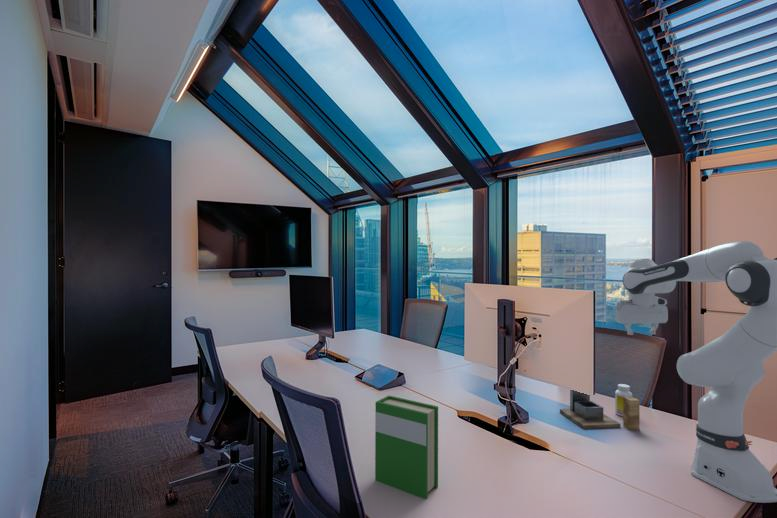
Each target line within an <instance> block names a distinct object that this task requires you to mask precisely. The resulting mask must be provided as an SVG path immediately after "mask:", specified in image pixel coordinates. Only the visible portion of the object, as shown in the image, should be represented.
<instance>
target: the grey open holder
mask: <svg viewBox="0 0 777 518" xmlns="http://www.w3.org/2000/svg"><path fill="white" fill-rule="evenodd" d="M590 397H591V394H590V395H587V394H584V393H580V392H577V391H574V390H570V389H569V407H570V408H569V409H570V410H571V411H572V412H575V414H577V415H578V416H580V417H581V418H583V419H584V420H601V419H603V414H604V407H603V406H601V405H600V404H599V403H597V402H594V401H593V400H591V399H590Z"/></svg>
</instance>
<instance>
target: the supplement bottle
mask: <svg viewBox="0 0 777 518" xmlns="http://www.w3.org/2000/svg"><path fill="white" fill-rule="evenodd" d="M630 389H631V386H630V385H628V384H625V383H624V384H623V383H619V384H617V389H616V390H615V392H614V395H615V396H614V398H615V400H614V401H615V402H614V407H615V408H614V409H615V411H614V412H615V414H616V415H618V416H620V417H623V397H633V393H632V392H631V391H630Z"/></svg>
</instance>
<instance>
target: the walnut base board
mask: <svg viewBox="0 0 777 518" xmlns="http://www.w3.org/2000/svg"><path fill="white" fill-rule="evenodd" d="M559 413H560V414H561V415H563V416H564V417H566V418H567V419H569V420H570V421H571V422H573V423H574V424H576V425H577V426H578V427H580V428H581V429H583V430H587V429H588V430H590V429H591V430H592V429H594V428H596V429H613V428H615V429H617V428H618V427H620V428H621V423H620V422H618V421H617V420H615V419H614V418H611V417H610V416H608V415H606V414H605V413H603V419H601V420H584V419H583V418H581V417H580V416H578V415H577V414H575V412H572V411H571V410H570V408H559Z"/></svg>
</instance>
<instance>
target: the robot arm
mask: <svg viewBox="0 0 777 518" xmlns="http://www.w3.org/2000/svg"><path fill="white" fill-rule="evenodd" d="M678 282H692V283H693V282H695V283H718V282H725V284H726V287H727V289H728V291H730V293H731V294H732V295H733V296H735V297H736V298H737V299H738V300H739V302H740V303H741V304H742V305H745V306H748V307H750V309H749V310H748V311H747V312H746V313H745V314H744V315H743V316H742V317H741V318H740V319H739V320H737V322H735V324H733V325H732V326H731V327H730V328H729V329H728V330H726V332H725V333H723V334H722V335H720V336H719V337H717V338H715V339H713V340H711V341H709V342H708V343H706V344H704V345H703V346H700V347H699V348H696V349H695V350H692V351H690V352H688V353H687V352H686V353H684V354H682V355H680V356H679V357H678V359H677V362H676V370H677V373H678V376H679V377H680V378H681V379H682V381H683V382H685V383H686V384H688V385H692V386H697V387H703V388H709V389H708V391H706V393H705V394H704V395H703V396H701V397H700V398H699V400H698V402H697V424H696V425H695V427H696V428H695V436H696V437H697V440H696V441H697V442H696V445H695V446H696V447H695V449H694V450H695V451H694V458H693V461H692V464H691V471H690V473H691V475H692V476H693V477H695V478H696V479H697V478H698V479H699V480H701V481H703V482H706V483H708V484H710V485H711V486H713V487H716V488H718V489H719V490H722V491H724V492H726V493H728V494H729V495H731V496H733V497H735V498H737V499H740V500H742V501H746V502H751V503H759V504H761V503H763V504H766V503H770V504H771V503H777V488H776V487H775V486H774V481H773V476H772V474H771V471H770V470H769V469H767V468H766V466H765V465H764V464H763V463H762V462H761V461H760V460H759V459H758V457H756V455H754V453H753V452H752V451H751V450H750V446H752V445H753V444H752V443H753V441H752V440H747V438H746V436H745V434H744V409H745V406H746V403H747V401H748V398H749V395H750V394H751V392H752V390H753V389H754V387H755V386H756V385H758V383H760V382H761V381H762V380H763V378H764V376H765V373H766V369H765V366H764V363H763V362H764V361H766V360H767V359H768V358H769V357H770V356H772V355H773V354H775V353H776V352H777V257H775V258H773V259H771V258H768V257H766V256H765V254H764V252H763V250H762V248H761V247H760V246H759V245H758V244H756V243H754V242H752V241H747V240H743V241H742V240H741V241H731V242H728V243H723V244H720V245H719V244H718V245H716V246H713V247H710V248H707V249H704V250H703V249H702V250H701V251H698V252H695V253H692V254H690V255H687V256H685V257H684V256H683V257H681V258H677V259H675V260H673V261H668V262H665V263H661V264H657V263H656V262H654V260H653V259H649V258H642V259H641V258H640V259H635V260H633V261H631V262H630V264H629V268H628V269H627V271H626V272H625V273H624V274H623V277H622V285H623V287H624V288H625V289H626V291H627V292H628V299H620V300H619V301H617V303H616V310H615V319H614V320H615V321H616V323H619V324H622V325H623V324H624V325H623V326H624V327H625V329H626V333H627V335H628V336H629V335H630V336H633V335H634V330H633V329H632V328H631V327H632V324H651V328H650V329H648V333H649V335H657V334H656V331H657V329H658V327H659V324H666V323H667V322H668V320H669V310H668V306H666V305H667V304H668V300H667V299H666V298H663V297H660V296H656V294H669V293H672V292H673V291H674V290H676V288H677V286H678Z"/></svg>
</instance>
